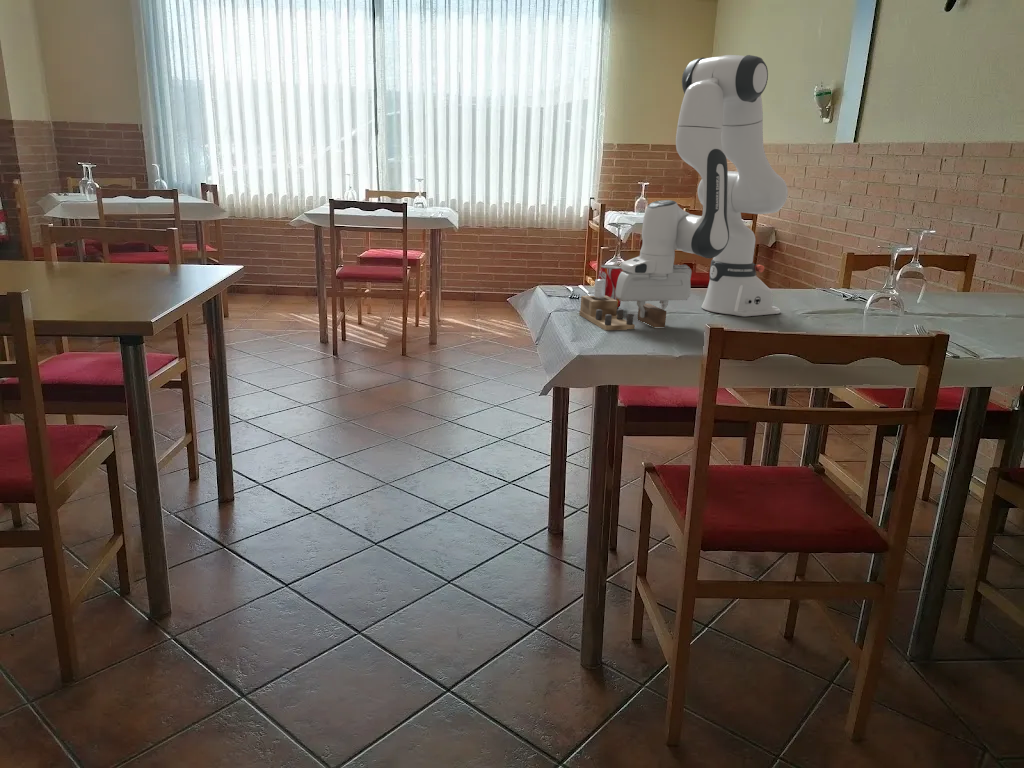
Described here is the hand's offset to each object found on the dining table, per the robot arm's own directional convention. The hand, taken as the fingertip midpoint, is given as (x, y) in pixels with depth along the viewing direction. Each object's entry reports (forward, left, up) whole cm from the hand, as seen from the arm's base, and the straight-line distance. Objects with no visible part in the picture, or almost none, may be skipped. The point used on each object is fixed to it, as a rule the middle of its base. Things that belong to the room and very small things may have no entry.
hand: (651, 317), depth 205 cm
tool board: (+11, -3, -2) cm, 12 cm away
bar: (0, 0, -2) cm, 2 cm away
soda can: (+3, -20, -2) cm, 20 cm away
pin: (+11, -8, 0) cm, 14 cm away
